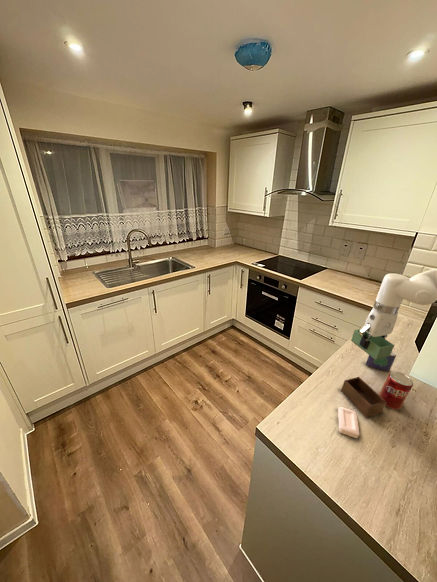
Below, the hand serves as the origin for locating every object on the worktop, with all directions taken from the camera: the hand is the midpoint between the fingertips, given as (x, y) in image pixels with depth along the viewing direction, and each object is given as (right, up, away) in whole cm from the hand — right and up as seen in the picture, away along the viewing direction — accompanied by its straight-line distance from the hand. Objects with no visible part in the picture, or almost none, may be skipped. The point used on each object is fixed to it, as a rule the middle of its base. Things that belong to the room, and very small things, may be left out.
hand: (370, 345), depth 94 cm
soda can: (+3, -20, -6) cm, 21 cm away
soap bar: (-17, -24, -14) cm, 33 cm away
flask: (+10, -13, +11) cm, 19 cm away
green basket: (0, -1, +1) cm, 2 cm away
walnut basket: (-8, -20, -6) cm, 22 cm away
